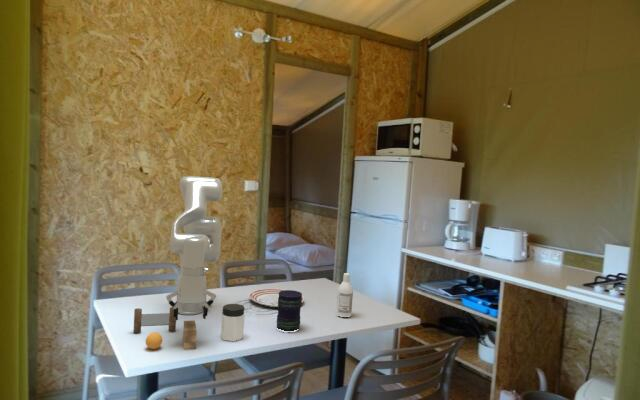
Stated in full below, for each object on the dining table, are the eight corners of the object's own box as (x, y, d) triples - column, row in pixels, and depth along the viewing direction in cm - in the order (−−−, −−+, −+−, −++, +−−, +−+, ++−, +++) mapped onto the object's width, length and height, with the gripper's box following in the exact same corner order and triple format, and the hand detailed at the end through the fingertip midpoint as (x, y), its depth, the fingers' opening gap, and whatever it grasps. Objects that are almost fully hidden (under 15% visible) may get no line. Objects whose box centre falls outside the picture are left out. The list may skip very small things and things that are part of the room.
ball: (162, 344, 158) (162, 329, 157) (162, 351, 152) (162, 335, 152) (145, 345, 156) (146, 330, 156) (144, 352, 151) (145, 336, 150)
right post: (175, 329, 173) (176, 307, 172) (175, 331, 171) (176, 309, 170) (168, 329, 172) (169, 307, 172) (168, 332, 170) (169, 309, 169)
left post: (140, 331, 169) (142, 308, 168) (140, 333, 166) (141, 310, 166) (133, 331, 168) (134, 308, 167) (133, 334, 165) (134, 310, 165)
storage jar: (290, 335, 176) (293, 298, 175) (271, 328, 181) (273, 293, 180) (304, 328, 184) (306, 293, 184) (285, 322, 190) (287, 288, 189)
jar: (234, 331, 175) (236, 302, 175) (247, 337, 170) (249, 307, 169) (215, 337, 168) (217, 306, 168) (229, 343, 163) (231, 311, 162)
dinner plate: (314, 302, 223) (314, 296, 223) (281, 315, 200) (281, 308, 200) (271, 291, 238) (272, 285, 238) (236, 302, 215) (237, 295, 215)
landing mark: (173, 313, 191) (173, 312, 191) (173, 324, 178) (173, 324, 178) (138, 314, 187) (138, 314, 187) (136, 326, 173) (136, 325, 173)
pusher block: (193, 338, 165) (194, 320, 165) (195, 349, 156) (196, 330, 156) (182, 339, 164) (183, 320, 164) (183, 350, 155) (184, 330, 154)
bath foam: (353, 318, 202) (356, 275, 201) (339, 319, 200) (342, 275, 198) (347, 313, 209) (350, 271, 207) (333, 314, 206) (337, 272, 205)
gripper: (216, 269, 165) (213, 314, 165) (167, 269, 159) (165, 316, 159) (218, 273, 158) (216, 320, 158) (167, 273, 152) (165, 322, 152)
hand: (190, 318), depth 159 cm, fingers open, 9 cm apart
